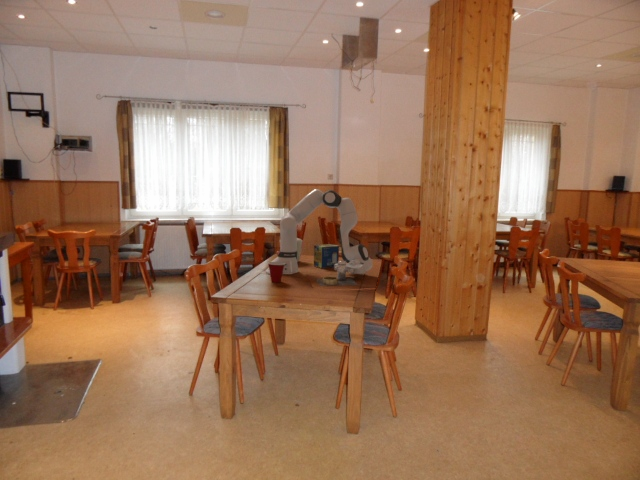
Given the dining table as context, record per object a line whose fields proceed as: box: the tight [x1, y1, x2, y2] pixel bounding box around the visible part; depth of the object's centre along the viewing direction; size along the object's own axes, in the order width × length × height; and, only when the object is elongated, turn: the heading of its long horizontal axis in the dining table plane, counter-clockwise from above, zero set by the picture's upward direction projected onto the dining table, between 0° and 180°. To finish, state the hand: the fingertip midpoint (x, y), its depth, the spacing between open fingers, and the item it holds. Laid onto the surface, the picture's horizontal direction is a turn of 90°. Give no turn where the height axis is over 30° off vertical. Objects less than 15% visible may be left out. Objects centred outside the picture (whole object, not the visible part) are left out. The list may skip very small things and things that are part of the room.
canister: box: [278, 237, 304, 263], centre depth 343 cm, size 18×18×21 cm
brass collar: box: [321, 276, 338, 286], centre depth 272 cm, size 10×10×3 cm
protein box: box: [313, 243, 340, 269], centre depth 328 cm, size 10×15×16 cm
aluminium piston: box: [337, 260, 347, 281], centre depth 280 cm, size 5×5×12 cm
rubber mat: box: [315, 278, 359, 287], centre depth 276 cm, size 23×17×1 cm
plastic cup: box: [267, 261, 285, 284], centre depth 277 cm, size 11×11×12 cm
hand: (341, 269), depth 279 cm, fingers open, 8 cm apart
